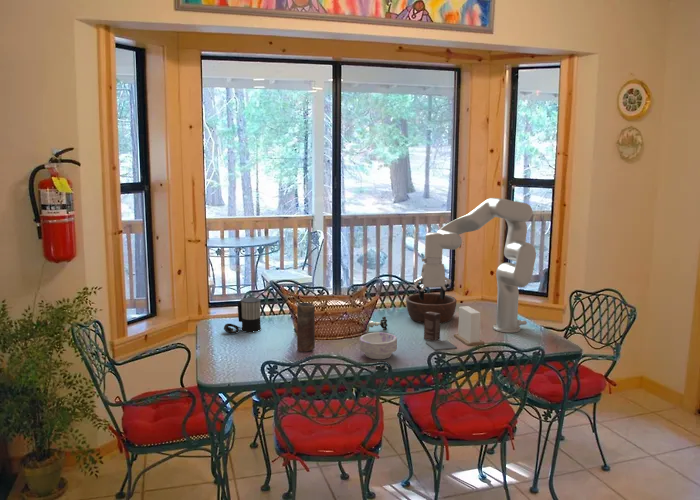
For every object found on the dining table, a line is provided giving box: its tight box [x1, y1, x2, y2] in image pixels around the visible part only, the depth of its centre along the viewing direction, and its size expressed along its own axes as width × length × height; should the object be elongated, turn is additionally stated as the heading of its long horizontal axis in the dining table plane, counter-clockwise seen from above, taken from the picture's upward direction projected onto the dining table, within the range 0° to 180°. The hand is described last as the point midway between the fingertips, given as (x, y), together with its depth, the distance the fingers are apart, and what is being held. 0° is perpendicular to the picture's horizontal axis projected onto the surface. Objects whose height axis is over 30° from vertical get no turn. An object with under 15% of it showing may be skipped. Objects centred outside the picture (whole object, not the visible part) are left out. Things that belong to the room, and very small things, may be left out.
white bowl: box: [359, 331, 398, 360], centre depth 245 cm, size 15×15×8 cm
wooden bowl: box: [405, 292, 457, 324], centre depth 301 cm, size 25×25×10 cm
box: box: [423, 312, 441, 342], centre depth 267 cm, size 6×4×12 cm
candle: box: [296, 301, 316, 353], centre depth 251 cm, size 8×7×20 cm
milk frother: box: [223, 296, 262, 334], centre depth 279 cm, size 14×16×15 cm
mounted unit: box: [453, 305, 485, 347], centre depth 265 cm, size 8×14×14 cm, turn 15°
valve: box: [366, 316, 388, 333], centre depth 280 cm, size 7×7×12 cm
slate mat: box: [425, 339, 457, 351], centre depth 258 cm, size 10×10×1 cm
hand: (431, 299), depth 264 cm, fingers open, 9 cm apart
